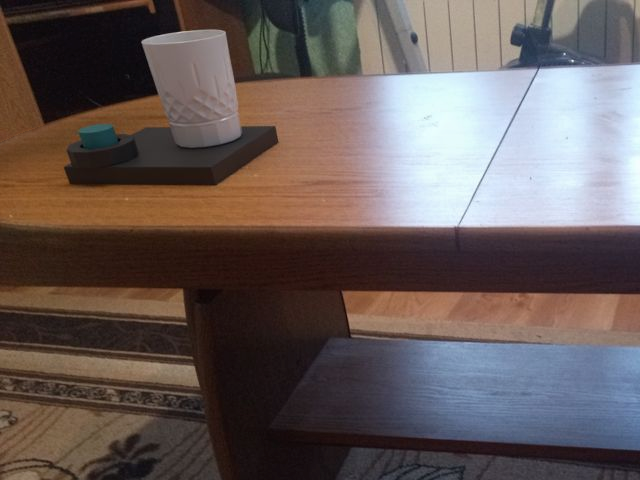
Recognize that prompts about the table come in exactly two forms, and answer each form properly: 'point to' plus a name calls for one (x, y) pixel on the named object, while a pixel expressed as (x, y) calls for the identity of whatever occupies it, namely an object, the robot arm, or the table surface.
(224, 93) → the white cup
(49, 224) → the table surface
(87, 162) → the scale
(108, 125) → the button
